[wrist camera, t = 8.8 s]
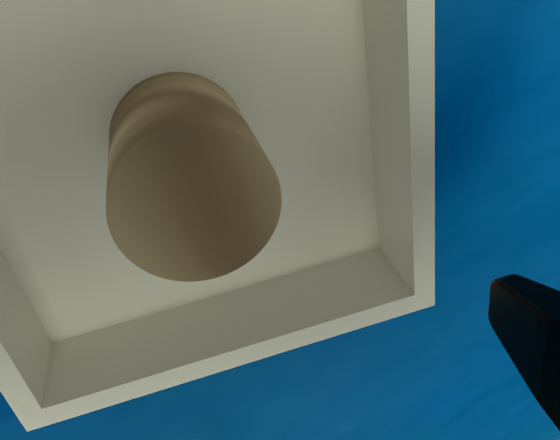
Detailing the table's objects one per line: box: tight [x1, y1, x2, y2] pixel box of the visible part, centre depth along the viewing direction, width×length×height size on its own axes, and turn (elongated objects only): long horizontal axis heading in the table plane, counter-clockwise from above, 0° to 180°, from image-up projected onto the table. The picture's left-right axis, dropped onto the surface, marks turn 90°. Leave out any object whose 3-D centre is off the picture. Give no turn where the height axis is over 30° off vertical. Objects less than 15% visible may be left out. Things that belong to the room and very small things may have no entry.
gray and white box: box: [0, 0, 435, 432], centre depth 17 cm, size 15×15×4 cm
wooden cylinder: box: [106, 72, 282, 282], centre depth 15 cm, size 4×4×5 cm
